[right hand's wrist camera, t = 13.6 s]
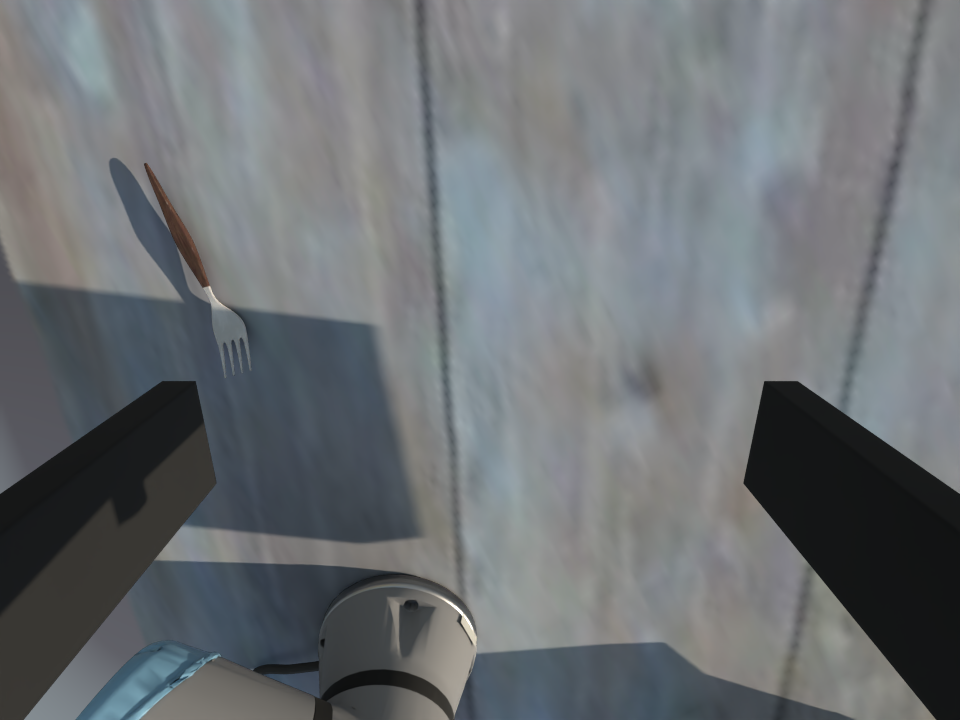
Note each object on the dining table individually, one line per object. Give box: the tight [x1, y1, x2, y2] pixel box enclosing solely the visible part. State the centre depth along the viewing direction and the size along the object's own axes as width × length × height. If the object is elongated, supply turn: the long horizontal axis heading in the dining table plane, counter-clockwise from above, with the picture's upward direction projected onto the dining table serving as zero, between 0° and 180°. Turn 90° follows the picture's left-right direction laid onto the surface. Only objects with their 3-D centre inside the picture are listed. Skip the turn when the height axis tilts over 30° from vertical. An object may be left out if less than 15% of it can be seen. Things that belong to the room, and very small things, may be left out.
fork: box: [144, 163, 251, 378], centre depth 39 cm, size 3×16×2 cm, turn 17°
